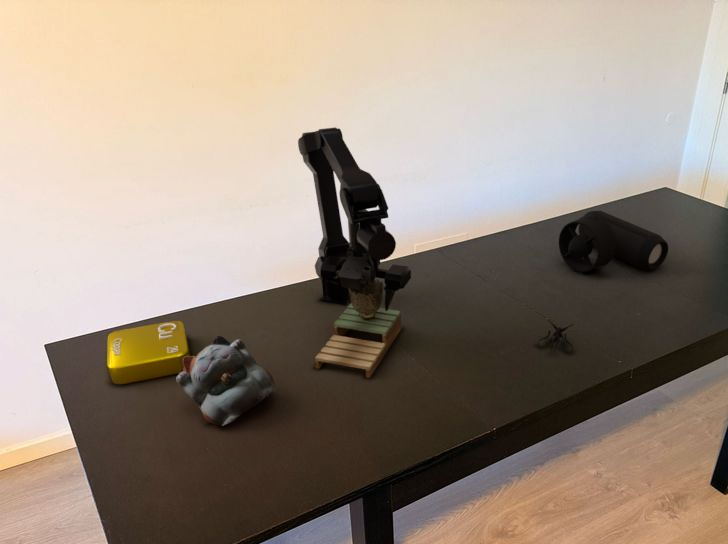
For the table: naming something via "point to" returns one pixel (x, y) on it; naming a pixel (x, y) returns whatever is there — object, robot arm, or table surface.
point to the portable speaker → (632, 242)
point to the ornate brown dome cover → (367, 299)
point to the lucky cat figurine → (224, 380)
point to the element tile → (146, 352)
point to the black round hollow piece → (587, 243)
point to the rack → (356, 349)
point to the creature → (557, 337)
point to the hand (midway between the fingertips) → (367, 307)
